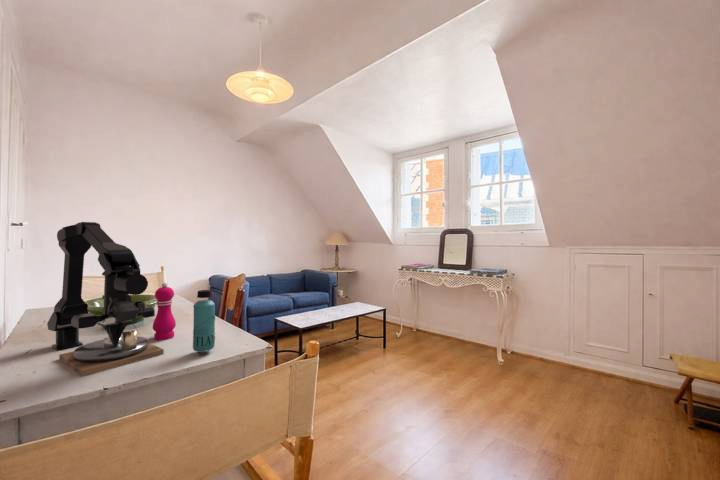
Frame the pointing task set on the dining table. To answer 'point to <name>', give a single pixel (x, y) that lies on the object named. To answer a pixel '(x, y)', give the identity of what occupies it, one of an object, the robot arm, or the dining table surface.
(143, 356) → the wheel mount
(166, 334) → the pepper mill
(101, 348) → the handwheel
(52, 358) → the dining table surface
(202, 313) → the beverage bottle
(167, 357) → the dining table surface
